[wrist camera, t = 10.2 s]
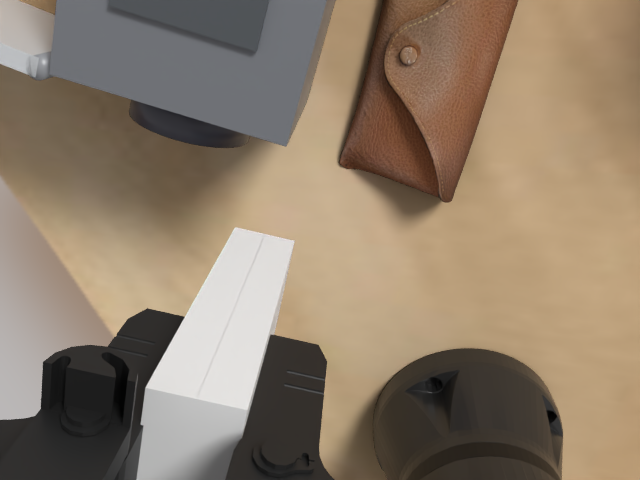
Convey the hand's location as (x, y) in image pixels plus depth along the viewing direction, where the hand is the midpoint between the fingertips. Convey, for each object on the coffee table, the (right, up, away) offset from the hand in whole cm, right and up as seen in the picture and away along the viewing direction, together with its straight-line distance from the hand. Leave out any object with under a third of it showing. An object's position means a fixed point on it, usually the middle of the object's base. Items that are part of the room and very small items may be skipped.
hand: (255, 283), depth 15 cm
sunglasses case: (+9, +13, +25) cm, 29 cm away
